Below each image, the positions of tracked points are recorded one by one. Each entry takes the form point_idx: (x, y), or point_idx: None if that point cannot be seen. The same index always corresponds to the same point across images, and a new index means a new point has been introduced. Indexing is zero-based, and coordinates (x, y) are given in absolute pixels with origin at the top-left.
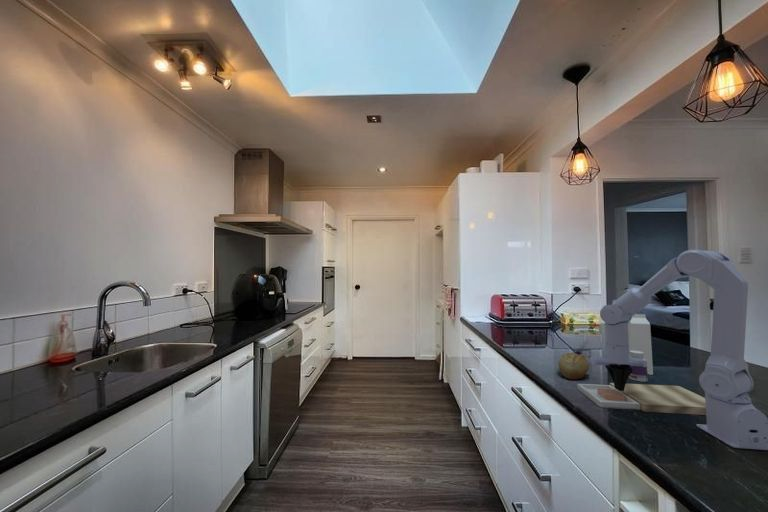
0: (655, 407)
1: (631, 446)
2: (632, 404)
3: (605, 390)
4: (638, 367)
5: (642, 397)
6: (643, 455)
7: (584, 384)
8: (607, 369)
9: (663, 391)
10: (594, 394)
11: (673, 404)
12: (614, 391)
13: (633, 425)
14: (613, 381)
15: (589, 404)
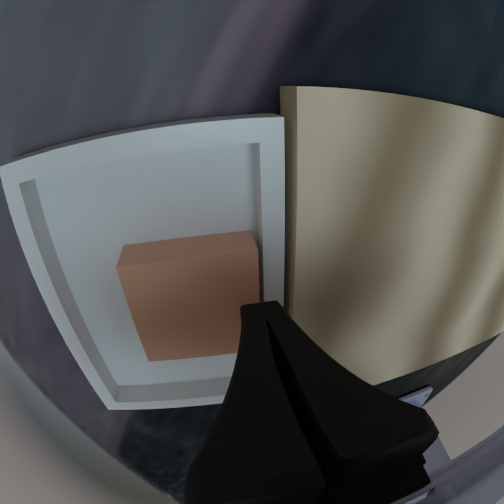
0: None
1: (148, 482)
2: None
3: (164, 300)
4: None
5: (343, 344)
6: (159, 489)
7: (44, 163)
8: (208, 436)
9: (500, 224)
10: (99, 270)
11: (405, 367)
12: (226, 302)
13: (183, 448)
14: (239, 345)
15: (70, 369)
